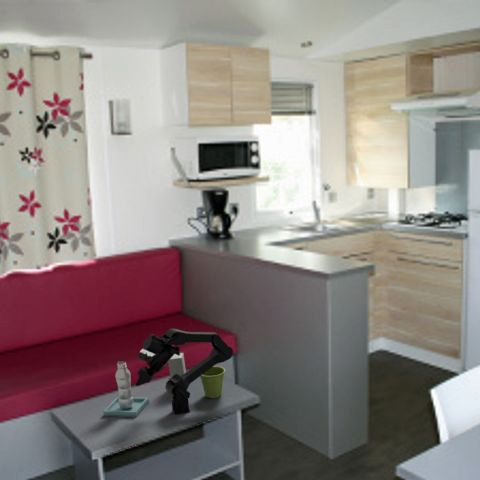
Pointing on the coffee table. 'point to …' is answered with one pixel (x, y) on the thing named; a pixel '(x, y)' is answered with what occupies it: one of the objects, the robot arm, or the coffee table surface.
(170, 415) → the coffee table surface
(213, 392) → the plant pot
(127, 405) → the plastic bottle
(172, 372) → the skincare box
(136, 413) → the tray
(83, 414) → the coffee table surface
